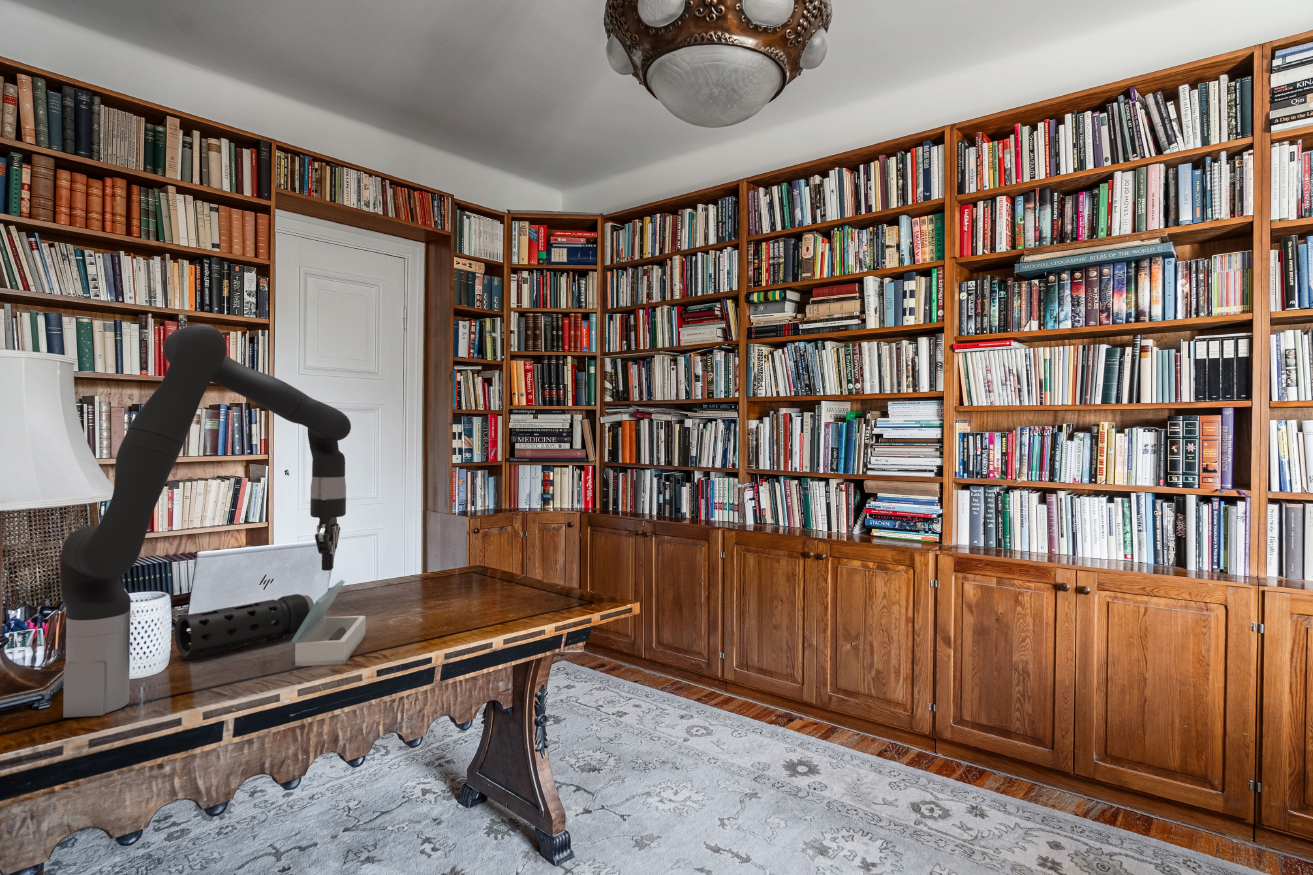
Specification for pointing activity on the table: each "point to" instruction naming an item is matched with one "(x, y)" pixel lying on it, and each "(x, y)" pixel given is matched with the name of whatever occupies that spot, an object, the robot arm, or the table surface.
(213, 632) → the muzzle brake
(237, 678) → the table surface
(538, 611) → the table surface
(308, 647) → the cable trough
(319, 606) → the trough lid
